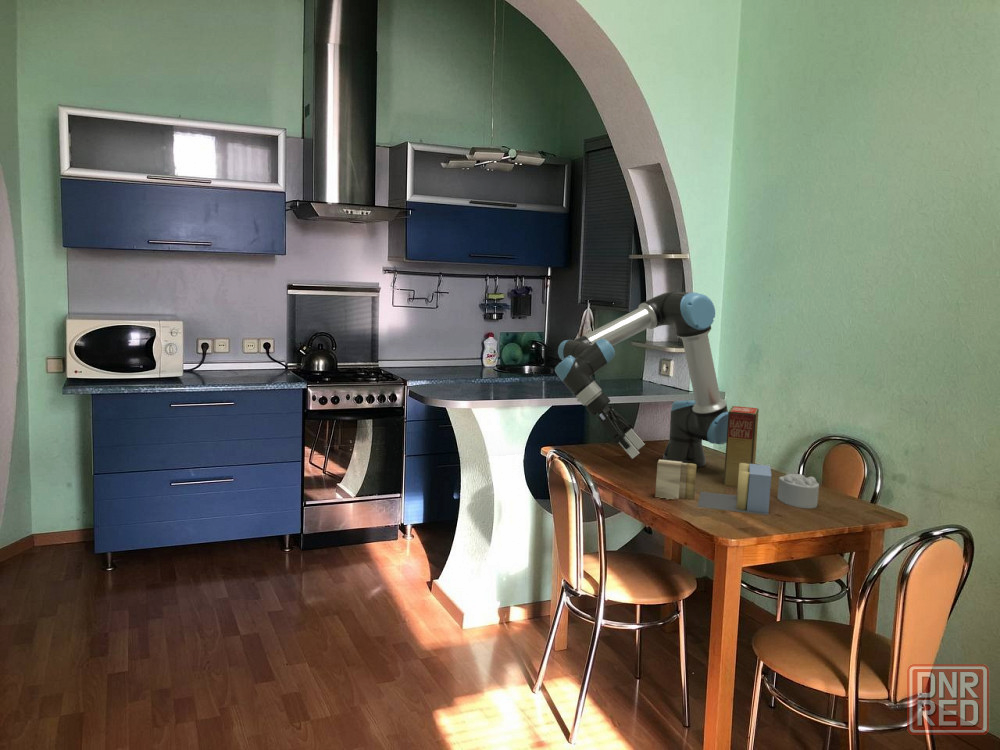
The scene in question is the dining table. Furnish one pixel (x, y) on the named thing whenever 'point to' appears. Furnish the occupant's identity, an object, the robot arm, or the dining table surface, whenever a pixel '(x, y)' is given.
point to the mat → (721, 502)
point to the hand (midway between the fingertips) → (638, 451)
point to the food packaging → (740, 441)
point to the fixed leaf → (753, 487)
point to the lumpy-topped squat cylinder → (798, 491)
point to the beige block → (675, 480)
